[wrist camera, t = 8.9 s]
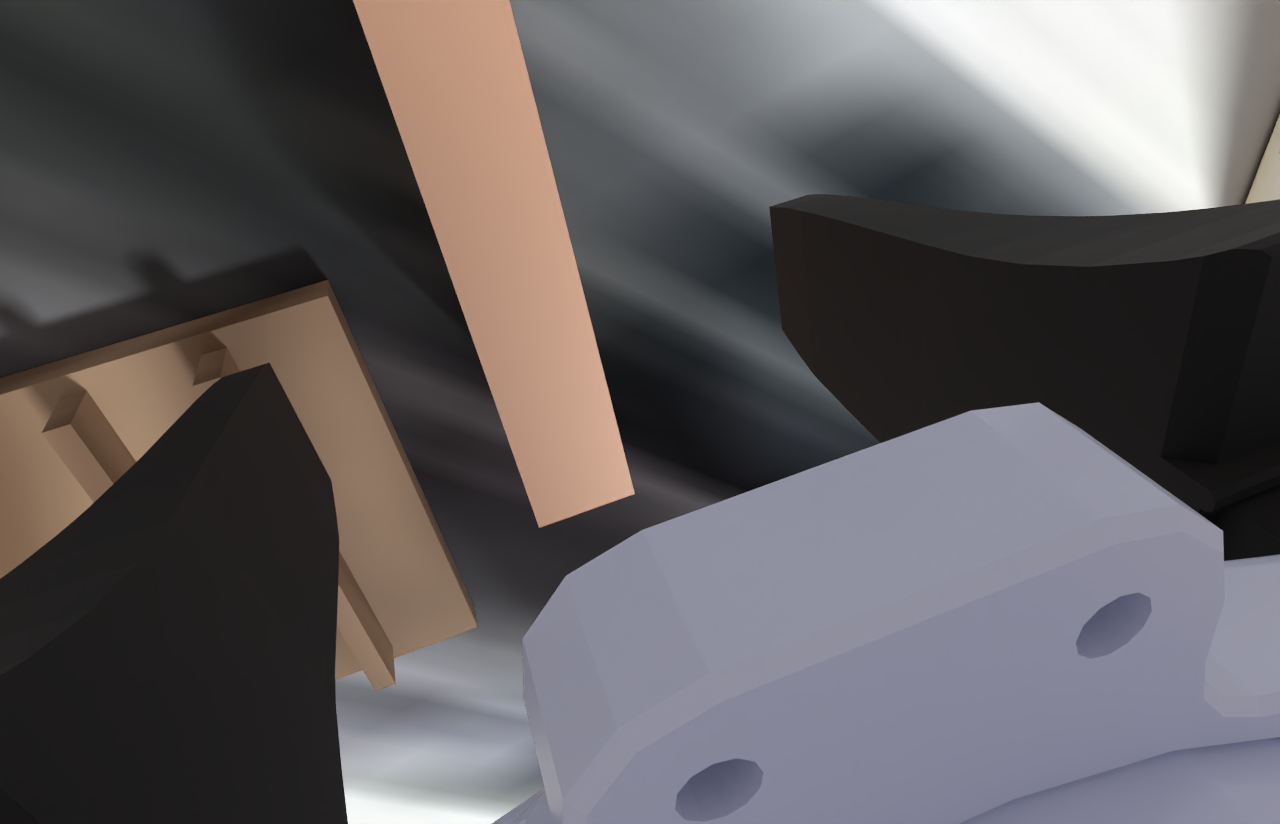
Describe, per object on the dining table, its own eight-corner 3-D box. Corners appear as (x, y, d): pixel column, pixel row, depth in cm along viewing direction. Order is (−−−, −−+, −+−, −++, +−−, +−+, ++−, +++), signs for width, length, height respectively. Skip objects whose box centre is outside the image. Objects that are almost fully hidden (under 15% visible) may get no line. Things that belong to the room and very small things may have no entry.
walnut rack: (328, 279, 21) (327, 322, 19) (473, 605, 27) (484, 662, 25) (-552, 543, 18) (-665, 627, 16) (-147, 832, 25) (-189, 916, 23)
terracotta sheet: (432, -87, 17) (489, -74, 11) (550, 324, 23) (634, 493, 17) (338, -64, 17) (339, -36, 11) (481, 347, 23) (539, 528, 16)
